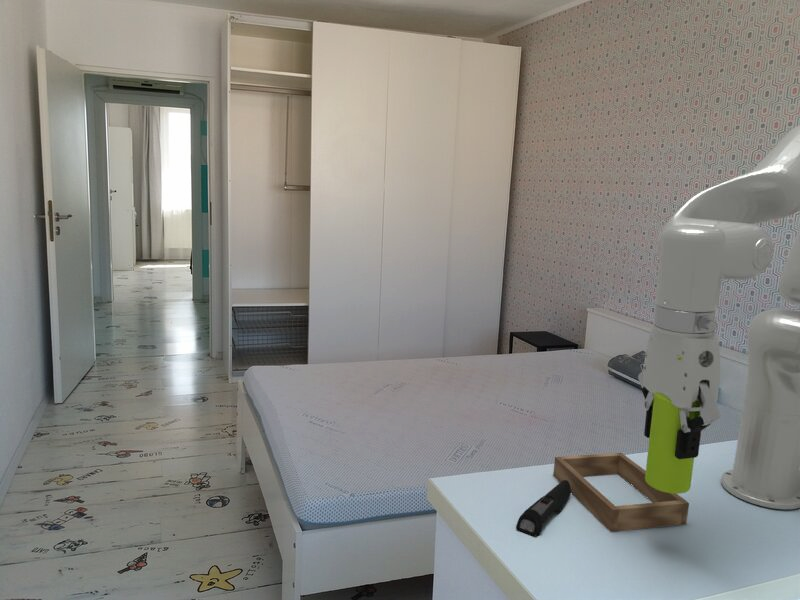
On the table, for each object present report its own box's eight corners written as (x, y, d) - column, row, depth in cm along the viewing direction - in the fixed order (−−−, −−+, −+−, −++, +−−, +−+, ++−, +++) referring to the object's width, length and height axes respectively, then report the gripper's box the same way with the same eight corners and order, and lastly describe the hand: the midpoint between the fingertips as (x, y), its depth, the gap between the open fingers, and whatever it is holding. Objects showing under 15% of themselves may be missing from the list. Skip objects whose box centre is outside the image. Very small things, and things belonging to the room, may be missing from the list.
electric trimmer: (576, 500, 104) (578, 482, 103) (537, 540, 91) (539, 520, 90) (554, 493, 106) (556, 475, 105) (513, 531, 93) (515, 511, 93)
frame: (619, 470, 114) (621, 452, 113) (686, 524, 97) (689, 503, 96) (553, 475, 111) (555, 457, 110) (610, 531, 94) (613, 510, 93)
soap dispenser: (645, 492, 86) (661, 352, 82) (644, 469, 93) (659, 337, 88) (692, 501, 84) (711, 357, 80) (688, 476, 91) (705, 342, 86)
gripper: (758, 335, 76) (739, 473, 80) (667, 304, 93) (654, 419, 97) (705, 339, 75) (688, 479, 78) (621, 306, 91) (610, 424, 95)
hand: (670, 445), depth 87 cm, fingers closed on soap dispenser, 6 cm apart
